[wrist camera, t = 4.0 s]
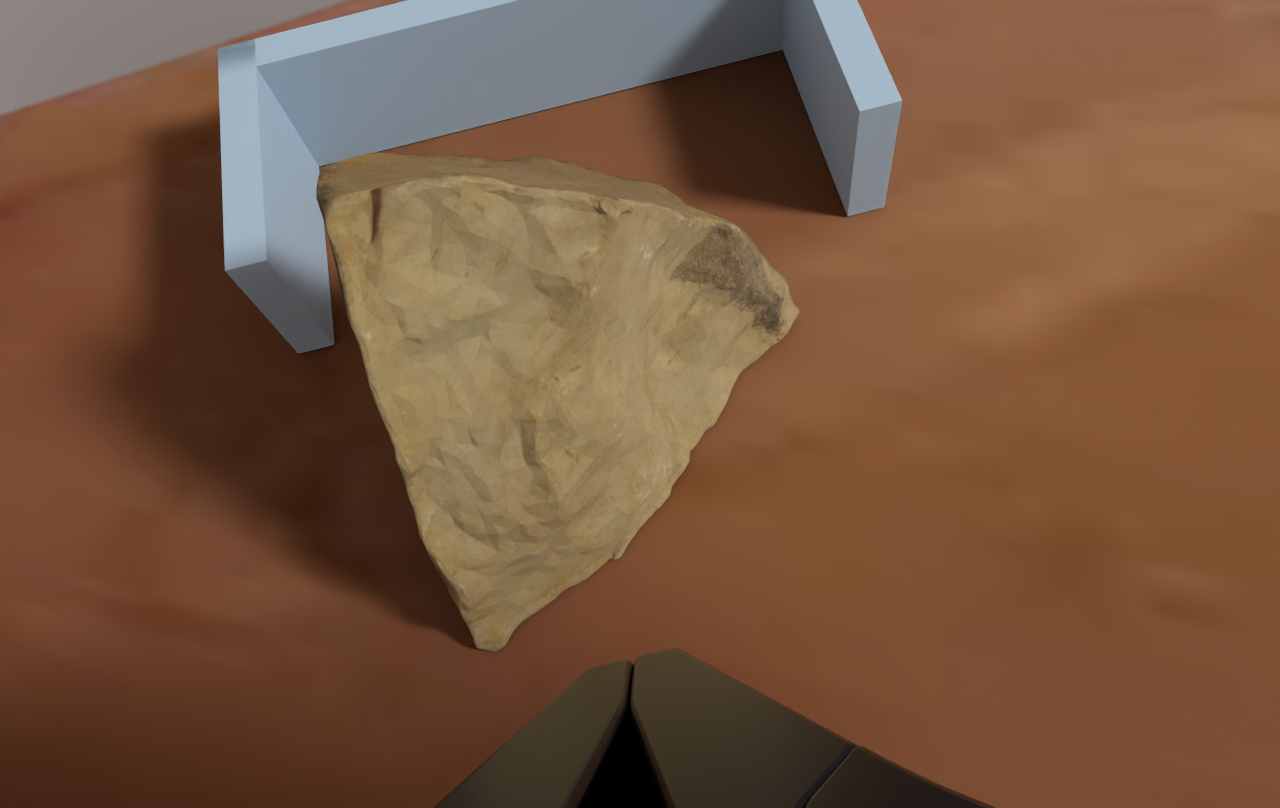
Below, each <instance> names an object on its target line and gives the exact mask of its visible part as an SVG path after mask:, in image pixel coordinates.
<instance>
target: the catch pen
mask: <svg viewBox="0 0 1280 808" xmlns="http://www.w3.org/2000/svg"><path fill="white" fill-rule="evenodd" d="M780 50H783V52H784V54H785V57H786V59H787V62H788V64H789V67H790V70H791V72H792V75H793V77H794V80H795V82H796V85H797V88H798V90H799V93H800V95H801V98H802V101H803V103H804V106H805V108H806V111H807V113H808V116H809V119H810V121H811V124H812V126H813V129H814V131H815V134H816V137H817V139H818V142H819V144H820V147H821V149H822V152H823V155H824V157H825V160H826V162H827V165H828V168H829V170H830V173H831V175H832V178H833V180H834V183H835V186H836V188H837V191H838V193H839V196H840V198H841V201H842V204H843V206H844V209H845V211H846V214H847V216H852V215H856V214H860V213H864V212H868V211H872V210H876V209H880V208H884V206H885V201H886V195H887V189H888V183H889V177H890V171H891V165H892V159H893V153H894V147H895V141H896V135H897V129H898V123H899V117H900V111H901V105H902V99H901V97H900V94H899V92H898V90H897V88H896V86H895V83H894V81H893V79H892V77H891V74H890V72H889V70H888V68H887V66H886V63H885V61H884V59H883V57H882V54H881V52H880V50H879V48H878V45H877V43H876V41H875V39H874V37H873V34H872V32H871V30H870V28H869V25H868V23H867V21H866V19H865V17H864V14H863V12H862V10H861V8H860V5H859V3H858V1H857V0H407V1H403V2H399V3H395V4H391V5H387V6H383V7H379V8H375V9H371V10H367V11H363V12H360V13H356V14H352V15H348V16H344V17H340V18H336V19H332V20H328V21H324V22H320V23H316V24H312V25H308V26H304V27H300V28H296V29H292V30H288V31H284V32H281V33H277V34H273V35H269V36H265V37H261V38H257V39H253V40H249V41H245V42H241V43H237V44H233V45H229V46H225V47H221V48H218V73H219V104H220V136H221V167H222V199H223V230H224V262H225V272H226V273H227V274H228V275H229V276H230V277H231V278H232V279H233V281H234V282H235V283H236V284H237V285H238V286H239V287H240V289H241V290H242V291H243V292H244V293H245V294H246V295H247V296H248V298H249V299H250V300H251V301H252V302H253V303H254V304H255V305H256V307H257V308H258V309H259V310H260V311H261V312H262V313H263V315H264V316H265V317H266V318H267V319H268V320H269V321H270V322H271V324H272V325H273V326H274V327H275V328H276V329H277V330H278V331H279V333H280V334H281V335H282V336H283V337H284V338H285V339H286V341H287V342H288V343H289V344H290V345H291V346H292V347H293V348H294V350H295V351H296V352H297V353H298V354H300V353H304V352H308V351H312V350H316V349H320V348H324V347H328V346H332V345H335V343H334V331H333V320H332V309H331V298H330V286H329V275H328V264H327V253H326V241H325V230H324V219H323V216H322V214H321V211H320V208H319V205H318V202H317V199H316V189H317V181H318V176H319V166H323V165H327V164H331V163H335V162H339V161H343V160H346V159H349V158H352V157H355V156H358V155H363V154H368V153H372V152H379V151H383V150H387V149H391V148H395V147H399V146H403V145H407V144H411V143H415V142H419V141H423V140H427V139H431V138H435V137H439V136H443V135H447V134H450V133H454V132H458V131H462V130H466V129H470V128H474V127H478V126H482V125H486V124H490V123H494V122H498V121H502V120H506V119H510V118H514V117H518V116H522V115H526V114H530V113H534V112H538V111H542V110H546V109H550V108H554V107H558V106H562V105H566V104H570V103H574V102H578V101H582V100H586V99H589V98H593V97H597V96H601V95H605V94H609V93H613V92H617V91H621V90H625V89H629V88H633V87H637V86H641V85H645V84H649V83H653V82H657V81H661V80H665V79H669V78H673V77H677V76H681V75H685V74H689V73H693V72H697V71H701V70H705V69H709V68H713V67H717V66H721V65H725V64H729V63H732V62H736V61H740V60H744V59H748V58H752V57H756V56H760V55H764V54H768V53H772V52H776V51H780Z"/></svg>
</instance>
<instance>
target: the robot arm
mask: <svg viewBox="0 0 1280 808" xmlns="http://www.w3.org/2000/svg"><path fill="white" fill-rule="evenodd" d="M434 808H995V807H993V806H991V805H988V804H986V803H983V802H981V801H978V800H976V799H974V798H971V797H969V796H966V795H964V794H961V793H959V792H957V791H954V790H952V789H949V788H947V787H944V786H942V785H939V784H937V783H935V782H933V781H931V780H929V779H927V778H925V777H923V776H921V775H919V774H916V773H914V772H912V771H910V770H908V769H906V768H904V767H902V766H900V765H898V764H896V763H894V762H892V761H890V760H888V759H886V758H884V757H882V756H880V755H879V754H877V753H875V752H873V751H871V750H869V749H867V748H866V747H863V746H858V745H856V744H855V743H853V742H851V741H849V740H847V739H845V738H843V737H842V736H840V735H838V734H836V733H834V732H832V731H830V730H829V729H827V728H825V727H823V726H821V725H819V724H818V723H816V722H814V721H812V720H810V719H808V718H806V717H805V716H803V715H801V714H799V713H797V712H795V711H793V710H792V709H790V708H788V707H786V706H784V705H782V704H780V703H779V702H777V701H775V700H773V699H771V698H769V697H767V696H766V695H764V694H762V693H760V692H758V691H756V690H754V689H753V688H751V687H749V686H747V685H745V684H743V683H741V682H740V681H738V680H736V679H734V678H732V677H730V676H728V675H727V674H725V673H723V672H721V671H719V670H717V669H715V668H714V667H712V666H710V665H708V664H706V663H704V662H703V661H701V660H699V659H697V658H695V657H693V656H691V655H690V654H688V653H686V652H684V651H682V650H680V649H677V648H671V649H667V650H662V651H658V652H654V653H650V654H646V655H641V656H639V657H637V659H636V660H635V662H634V665H633V664H632V663H631V662H630V661H629V660H621V661H617V662H613V663H609V664H605V665H601V666H597V667H593V668H590V669H588V670H587V671H586V672H584V673H583V674H582V675H581V676H580V677H579V678H578V679H577V680H576V681H574V682H573V683H572V684H571V685H570V686H569V687H568V688H567V689H566V690H564V691H563V692H562V693H561V694H560V695H559V696H558V697H557V698H555V699H554V700H553V701H552V702H551V703H550V704H549V705H548V706H547V707H545V708H544V709H543V710H542V711H541V712H540V713H539V714H538V715H536V716H535V717H534V718H533V719H532V720H531V721H530V722H529V723H528V724H526V725H525V726H524V727H523V728H522V729H521V730H520V731H519V732H518V733H516V734H515V735H514V736H513V737H512V738H511V739H510V740H509V741H507V742H506V743H505V744H504V745H503V746H502V747H501V748H500V749H499V750H497V751H496V752H495V753H494V754H493V755H492V756H491V757H490V758H489V759H487V760H486V761H485V762H484V763H483V764H482V765H481V766H480V767H478V768H477V769H476V770H475V771H474V772H473V773H472V774H471V775H470V776H468V777H467V778H466V779H465V780H464V781H463V782H462V783H461V784H460V785H458V786H457V787H456V788H455V789H454V790H453V791H452V792H451V793H449V794H448V795H447V796H446V797H445V798H444V799H443V800H442V801H441V802H439V803H438V804H437V805H436V806H435V807H434Z"/></svg>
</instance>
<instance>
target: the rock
mask: <svg viewBox="0 0 1280 808" xmlns="http://www.w3.org/2000/svg"><path fill="white" fill-rule="evenodd" d="M316 199H317V202H318V205H319V208H320V211H321V214H322V216H323V219H324V223H325V227H326V230H327V234H328V238H329V241H330V245H331V249H332V253H333V257H334V261H335V265H336V269H337V273H338V278H339V282H340V287H341V291H342V296H343V300H344V304H345V309H346V313H347V317H348V320H349V323H350V325H351V328H352V330H353V332H354V334H355V337H356V340H357V343H358V346H359V349H360V352H361V355H362V358H363V362H364V366H365V370H366V374H367V378H368V382H369V386H370V390H371V393H372V395H373V398H374V401H375V404H376V406H377V409H378V411H379V413H380V416H381V418H382V420H383V422H384V424H385V426H386V428H387V431H388V433H389V435H390V439H391V442H392V445H393V448H394V453H395V458H396V462H397V464H398V466H399V468H400V471H401V474H402V477H403V480H404V483H405V486H406V489H407V492H408V497H409V500H410V503H411V505H412V507H413V510H414V514H415V518H416V521H417V526H418V532H419V537H420V538H421V540H422V542H423V544H424V547H425V550H426V553H427V554H428V556H429V558H430V559H431V561H432V563H433V565H434V567H435V569H436V571H437V572H438V574H439V576H440V578H441V580H442V581H443V583H444V584H445V586H446V588H447V589H448V591H449V593H450V595H451V597H452V598H453V600H454V602H455V603H456V605H457V607H458V609H459V611H460V614H461V616H462V618H463V619H464V620H465V622H466V624H467V626H468V628H469V630H470V632H471V634H472V636H473V640H474V643H475V645H476V647H477V648H479V649H482V650H486V651H492V652H495V651H499V650H500V649H501V648H502V647H504V646H505V645H506V644H507V642H508V640H509V638H510V636H511V635H512V633H513V631H514V630H515V629H516V628H517V626H518V625H519V624H520V623H521V622H522V621H523V620H525V619H526V618H528V617H529V616H531V615H532V614H534V613H535V612H537V611H538V610H540V609H541V608H543V607H544V606H546V605H547V604H548V603H550V602H551V601H553V600H554V599H555V598H556V597H557V596H558V595H559V594H560V593H561V592H563V591H564V590H566V589H567V588H569V587H572V586H575V585H576V584H578V583H580V582H582V581H584V580H586V579H587V578H588V577H589V576H591V575H592V574H593V573H594V572H595V571H596V570H598V569H599V568H600V567H601V566H602V565H603V564H605V563H606V562H607V561H608V560H609V559H617V558H620V557H621V555H622V554H623V552H624V551H625V549H626V547H627V546H628V544H629V542H630V541H631V539H632V538H633V536H635V534H636V532H637V531H638V530H639V529H640V528H641V526H642V525H643V524H644V523H645V522H646V521H647V519H648V518H650V517H651V516H652V514H653V513H654V512H655V511H656V510H657V509H658V508H660V507H661V505H662V504H663V503H664V502H665V500H666V499H667V498H668V497H669V495H670V492H671V488H672V485H673V484H674V483H675V481H676V480H677V479H678V477H679V476H680V475H681V474H682V473H683V471H684V470H685V468H686V466H687V464H688V463H689V458H690V452H691V450H692V449H693V448H694V447H695V445H696V444H697V443H698V442H699V440H700V439H701V437H702V435H703V433H704V432H705V430H707V429H708V428H710V427H712V426H713V425H714V424H715V423H716V421H717V419H718V417H719V415H720V413H721V412H722V410H723V408H724V407H725V405H726V403H727V400H728V398H729V395H730V393H731V390H732V387H733V385H734V383H735V382H736V380H737V378H738V376H739V374H740V372H741V371H742V370H743V369H745V368H746V367H747V366H749V365H750V364H751V363H753V362H754V361H756V360H757V359H758V358H759V357H760V356H761V355H762V354H763V353H765V352H766V351H767V350H768V349H769V348H770V347H771V346H773V345H774V344H776V343H777V342H779V341H780V340H781V339H782V338H783V337H784V336H785V335H786V334H787V333H788V332H789V329H790V328H791V325H792V323H793V321H794V320H795V318H796V317H797V316H798V314H799V309H798V308H797V306H796V305H795V304H794V302H793V300H792V297H791V294H790V292H789V286H788V283H787V281H786V279H785V278H784V277H783V276H782V275H781V274H780V273H779V272H777V271H776V270H774V268H773V267H772V266H771V265H770V264H769V262H768V261H767V259H766V258H765V257H764V256H763V255H762V254H761V253H759V250H758V249H757V247H756V246H755V244H754V243H753V241H752V240H751V238H750V237H749V235H748V234H746V233H745V232H744V231H743V230H742V229H741V228H740V227H739V226H738V225H736V224H734V223H732V222H730V221H728V220H726V219H723V218H720V217H717V216H714V215H712V214H709V213H706V212H703V211H701V210H698V209H696V208H693V207H690V206H688V205H686V204H685V203H684V202H683V201H682V200H681V199H680V198H679V197H677V196H676V195H674V194H673V193H671V192H670V191H669V190H667V189H665V188H663V187H662V186H660V185H658V184H655V183H650V182H645V181H640V180H628V179H625V178H621V177H614V176H610V175H606V174H603V173H601V172H600V171H598V170H596V169H590V168H582V167H580V166H577V165H574V164H572V163H569V162H563V161H556V160H554V159H551V158H548V157H543V156H536V155H531V156H523V157H519V158H516V159H513V160H509V161H496V160H491V159H486V158H480V157H476V156H453V155H399V154H390V153H380V152H372V153H368V154H363V155H358V156H355V157H352V158H349V159H346V160H343V161H340V162H337V163H334V164H331V165H328V166H325V167H324V168H323V169H322V171H321V173H320V174H319V176H318V181H317V189H316Z"/></svg>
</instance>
